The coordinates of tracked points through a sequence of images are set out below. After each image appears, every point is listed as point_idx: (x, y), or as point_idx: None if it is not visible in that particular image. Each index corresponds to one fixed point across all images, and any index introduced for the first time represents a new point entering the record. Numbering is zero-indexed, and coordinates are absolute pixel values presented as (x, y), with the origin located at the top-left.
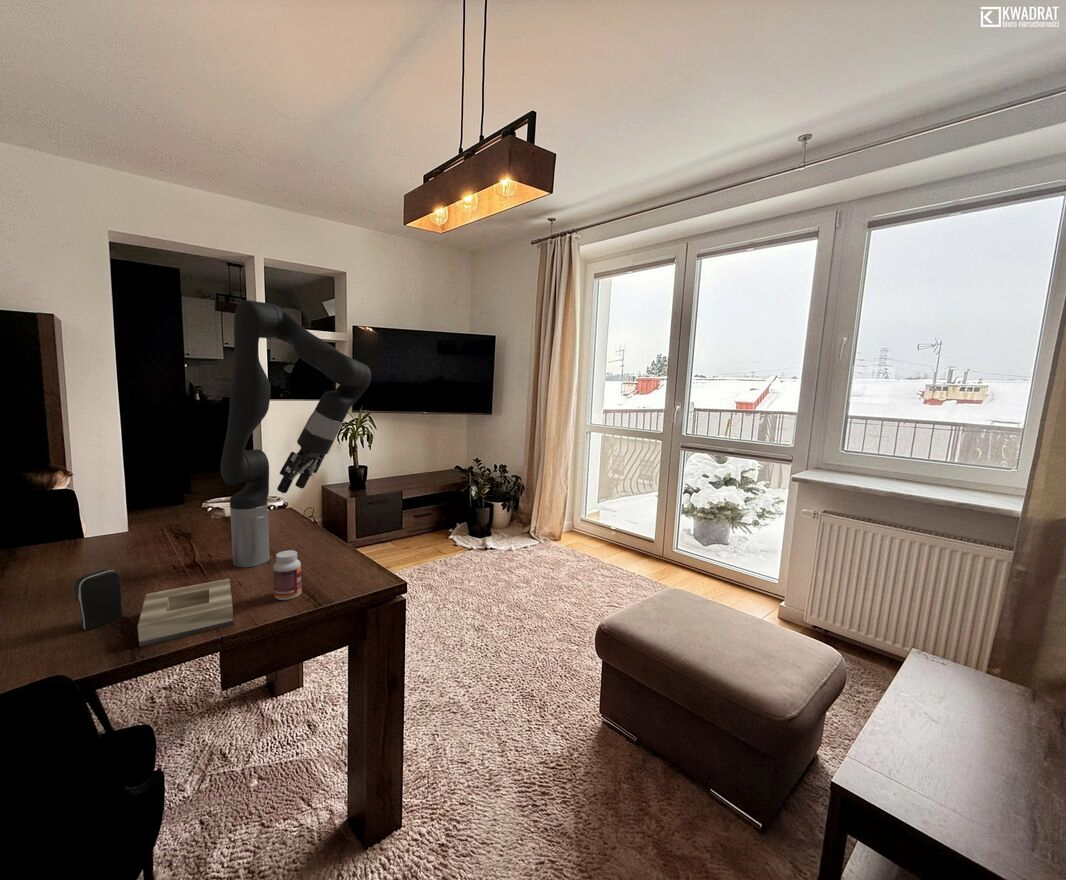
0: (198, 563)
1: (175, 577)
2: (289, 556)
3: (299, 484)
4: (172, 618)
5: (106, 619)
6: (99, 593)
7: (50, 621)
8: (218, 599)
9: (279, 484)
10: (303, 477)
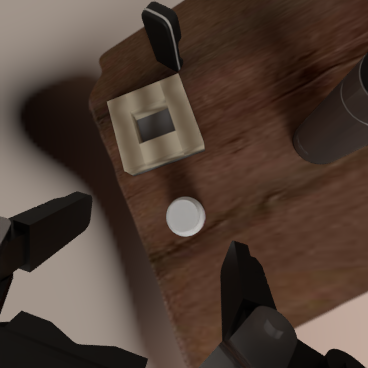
0: (318, 76)
1: (271, 72)
2: (168, 222)
3: (228, 262)
4: (113, 123)
5: (166, 64)
6: (155, 36)
7: (183, 23)
8: (144, 150)
9: (59, 199)
10: (231, 299)
